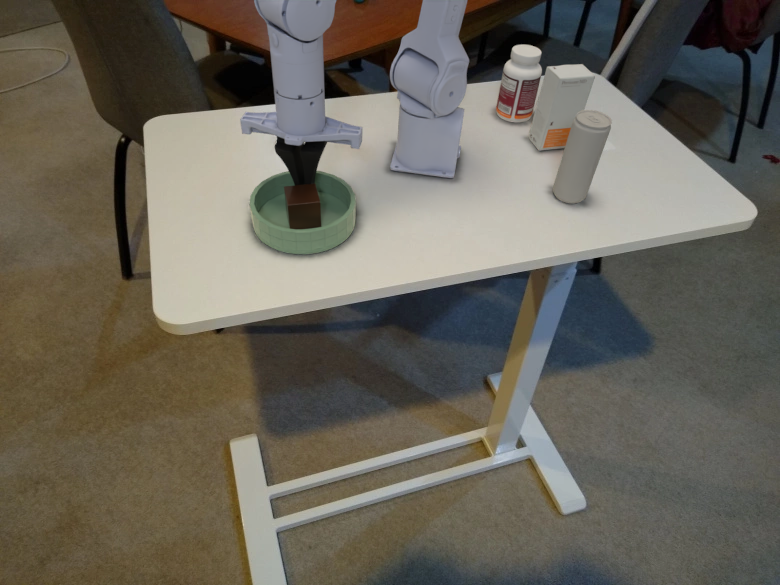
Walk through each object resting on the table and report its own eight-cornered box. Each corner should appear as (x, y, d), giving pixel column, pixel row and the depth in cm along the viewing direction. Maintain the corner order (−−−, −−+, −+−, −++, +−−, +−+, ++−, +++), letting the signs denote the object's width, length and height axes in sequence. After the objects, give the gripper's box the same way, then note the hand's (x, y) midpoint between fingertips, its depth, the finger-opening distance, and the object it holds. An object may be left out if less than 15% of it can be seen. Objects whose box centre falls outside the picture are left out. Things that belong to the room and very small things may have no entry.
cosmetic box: (538, 152, 90) (559, 78, 81) (527, 138, 92) (545, 65, 84) (573, 148, 91) (596, 75, 82) (560, 134, 94) (582, 62, 85)
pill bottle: (531, 108, 100) (547, 45, 92) (531, 126, 95) (547, 60, 87) (495, 103, 100) (508, 40, 92) (493, 120, 96) (506, 55, 88)
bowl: (363, 198, 79) (364, 176, 76) (343, 261, 69) (343, 239, 67) (270, 185, 80) (268, 163, 77) (238, 245, 70) (234, 223, 68)
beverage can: (564, 208, 80) (590, 130, 71) (544, 189, 83) (567, 112, 74) (592, 201, 81) (621, 124, 72) (571, 182, 84) (597, 106, 76)
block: (316, 208, 76) (315, 183, 73) (321, 227, 73) (320, 201, 70) (286, 211, 75) (283, 186, 72) (289, 230, 72) (287, 205, 69)
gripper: (225, 95, 63) (241, 197, 72) (354, 112, 62) (353, 213, 71) (246, 68, 68) (258, 167, 77) (366, 83, 67) (364, 181, 76)
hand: (305, 187), depth 75 cm, fingers closed
